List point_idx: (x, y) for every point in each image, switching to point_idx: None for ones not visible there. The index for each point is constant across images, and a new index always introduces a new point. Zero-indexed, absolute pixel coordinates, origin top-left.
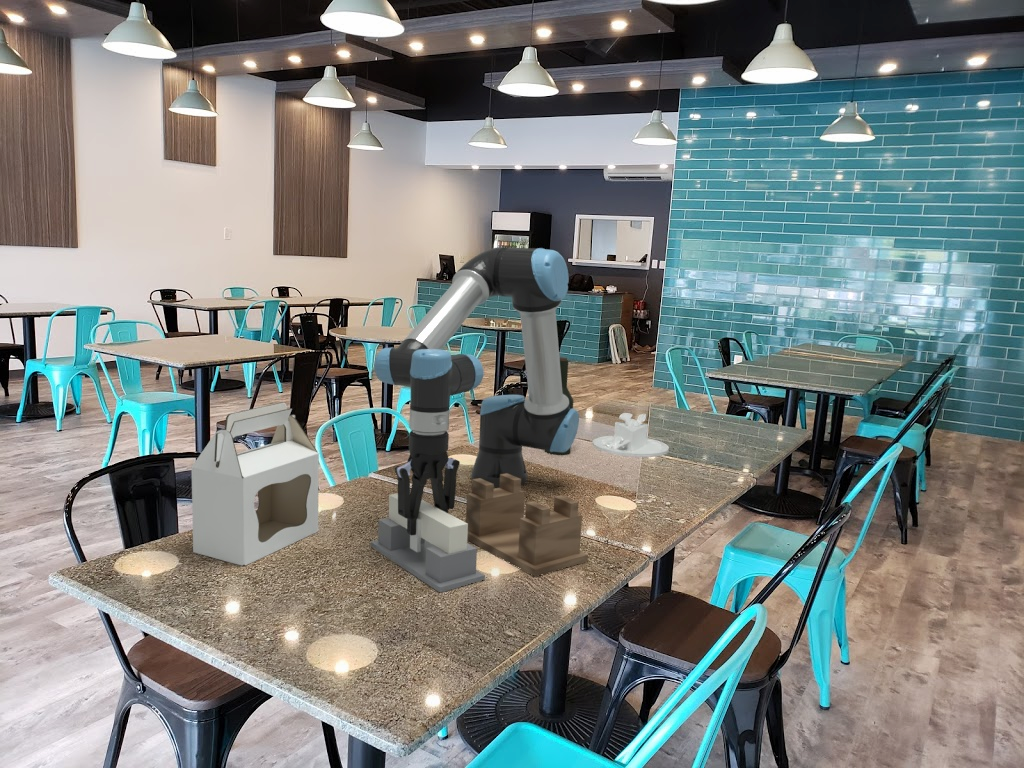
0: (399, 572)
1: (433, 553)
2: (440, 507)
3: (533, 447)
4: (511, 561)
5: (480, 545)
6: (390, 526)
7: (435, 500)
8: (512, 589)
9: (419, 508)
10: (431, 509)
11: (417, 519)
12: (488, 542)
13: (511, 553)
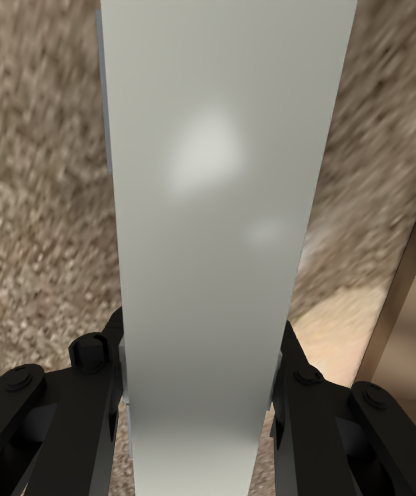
0: (113, 276)
1: (128, 430)
2: (275, 449)
3: None
4: (360, 380)
5: (401, 271)
6: (107, 166)
7: (285, 459)
8: (261, 438)
9: (109, 473)
10: (212, 440)
11: (125, 395)
12: (413, 302)
13: (385, 378)
